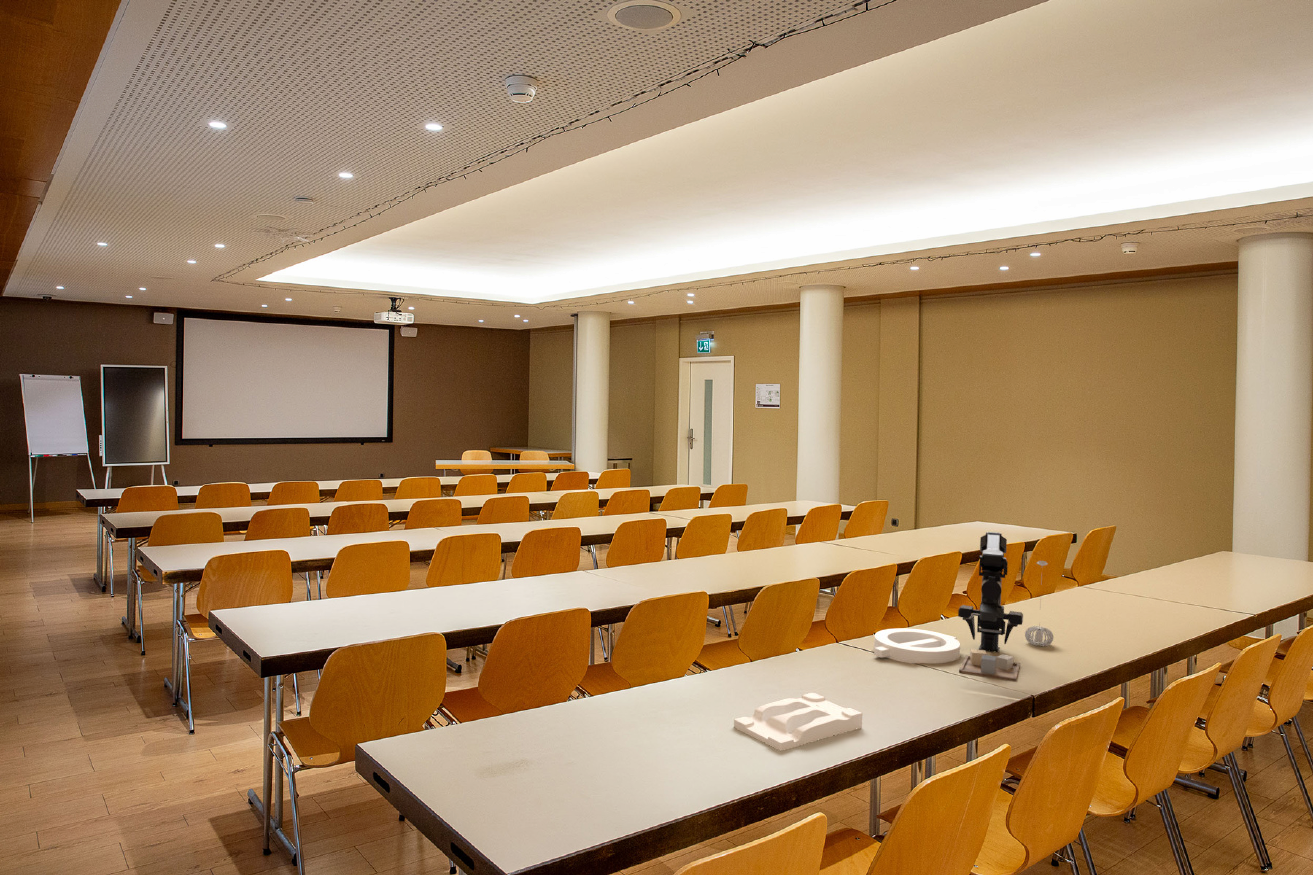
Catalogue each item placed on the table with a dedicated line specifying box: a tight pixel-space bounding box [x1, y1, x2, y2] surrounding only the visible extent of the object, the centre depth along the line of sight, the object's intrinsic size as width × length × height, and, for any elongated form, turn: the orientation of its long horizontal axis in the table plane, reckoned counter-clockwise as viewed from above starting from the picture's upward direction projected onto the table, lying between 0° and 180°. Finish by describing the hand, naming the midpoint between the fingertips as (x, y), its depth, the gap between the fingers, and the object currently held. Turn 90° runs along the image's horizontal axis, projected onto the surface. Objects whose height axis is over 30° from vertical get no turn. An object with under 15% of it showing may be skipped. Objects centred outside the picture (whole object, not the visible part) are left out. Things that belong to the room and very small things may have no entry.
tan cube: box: [969, 648, 988, 666], centre depth 274 cm, size 4×4×4 cm
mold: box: [733, 692, 863, 752], centre depth 218 cm, size 18×29×5 cm, turn 125°
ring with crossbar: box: [873, 627, 961, 665], centre depth 288 cm, size 28×28×5 cm
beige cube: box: [996, 653, 1014, 670], centre depth 271 cm, size 4×4×4 cm
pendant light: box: [1024, 560, 1054, 647], centre depth 300 cm, size 9×9×30 cm
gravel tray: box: [958, 655, 1021, 682], centre depth 269 cm, size 18×17×1 cm
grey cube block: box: [981, 654, 997, 675], centre depth 265 cm, size 5×4×5 cm
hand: (989, 641), depth 264 cm, fingers open, 9 cm apart
